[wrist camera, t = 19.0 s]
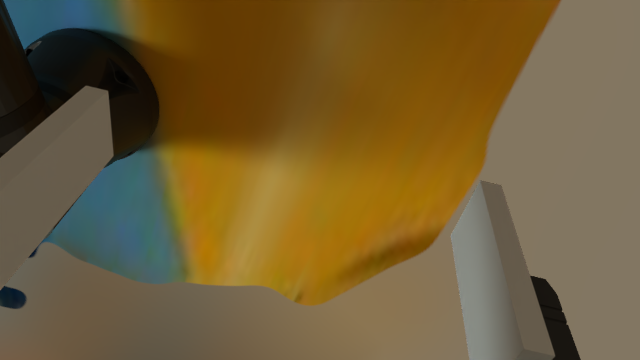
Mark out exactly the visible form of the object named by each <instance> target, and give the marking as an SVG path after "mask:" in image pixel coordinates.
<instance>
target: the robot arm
mask: <svg viewBox="0 0 640 360" xmlns="http://www.w3.org/2000/svg"><path fill="white" fill-rule="evenodd" d="M158 118H159V104H158V99H157V95H156V92H155V89H154V87H153V84H152V82H151V80H150V78H149V77H148V75H147V74H146V72H145V71H144V69H143V68H142V67H141V65H140V64H139V63H138V62H137V61H136V60H135V59H134V58H133V57H132V56H131V55H130V54H129V53H128V52H127V51H125V50H124V49H123V48H121V47H120V46H119V45H117V44H116V43H114V42H112V41H111V40H109V39H107V38H105V37H103V36H101V35H98V34H95V33H92V32H89V31H85V30H79V29H61V30H56V31H53V32H50V33H48V34H46V35H44V36H42V37H41V38H39V39H37V40H36V41H34V42H33V43H31V44H30V45H29V46H28V47H27V48H26V49H25V50H24V49H23V46H22V44H21V42H20V39H19V37H18V34H17V32H16V30H15V27H14V25H13V22H12V20H11V18H10V15H9V13H8V10H7V8H6V6H5V3H4V1H3V0H0V290H1V289H2V288H3V286H4V285H5V284H6V283H7V282H8V280H9V279H10V278H11V277H12V276H13V274H14V273H15V272H16V271H17V270H18V269H19V267H20V266H21V265H22V264H23V263H24V261H25V260H26V259H27V258H28V257H29V256H30V254H31V253H32V252H33V251H34V250H35V248H36V247H37V246H38V245H39V244H40V243H41V241H42V240H43V239H45V238H47V237H48V236H49V235H50V234H51V233H52V231H53V229H54V228H55V227H56V226H57V224H58V223H59V222H60V221H61V219H62V218H63V217H64V216H65V214H66V213H67V212H68V211H69V209H70V208H71V207H72V206H73V204H74V203H75V202H76V201H77V199H78V198H79V197H80V196H81V194H82V193H83V192H84V191H85V190H86V188H87V187H88V186H89V185H90V183H91V182H92V181H93V180H94V179H95V177H96V176H97V175H98V174H99V173H100V171H101V170H102V169H103V168H105V167H107V166H109V165H110V164H112V163H113V162H115V161H117V160H120V159H123V158H126V157H128V156H130V155H132V154H134V153H135V152H136V151H138V150H139V149H140V148H141V147H142V146H143V145H144V144H145V143H146V142H147V140H148V139H149V138H150V136H151V135H152V134H153V132H154V130H155V128H156V126H157V123H158ZM451 241H452V247H453V253H454V260H455V267H456V273H457V280H458V286H459V293H460V300H461V306H462V313H463V319H464V325H465V331H466V339H467V345H468V352H469V358H470V360H581V359H580V357H579V354H578V351H577V348H576V346H575V343H574V340H573V337H572V335H571V332H570V329H569V326H568V325H566V323H567V321H566V318H565V315H564V313H563V312H562V307H561V304H560V301H559V299H558V296H557V294H556V292H555V291H554V290H553V288H552V287H551V286H550V285H549V283H548V282H547V281H546V279H543V278H538V277H534V276H530V274H529V271H528V268H527V265H526V262H525V259H524V255H523V252H522V249H521V246H520V243H519V240H518V237H517V233H516V230H515V227H514V224H513V221H512V218H511V214H510V211H509V208H508V205H507V202H506V199H505V196H504V192H503V189H502V186H501V185H498V184H494V183H489V182H485V181H481V180H480V182H479V184H478V185H477V187H476V189H475V191H474V193H473V195H472V197H471V199H470V201H469V202H468V204H467V206H466V208H465V210H464V212H463V214H462V215H461V217H460V219H459V221H458V223H457V225H456V227H455V228H454V231H453V232H452V234H451Z"/></svg>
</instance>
